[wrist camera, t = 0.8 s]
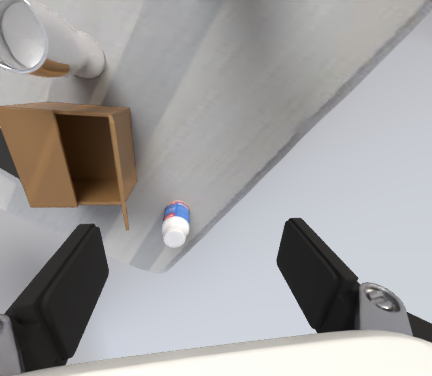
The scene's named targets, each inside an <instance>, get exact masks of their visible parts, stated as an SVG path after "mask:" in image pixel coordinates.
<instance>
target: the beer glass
mask: <svg viewBox="0 0 432 376" xmlns="http://www.w3.org/2000/svg"><path fill="white" fill-rule="evenodd" d="M104 65H105V58H104V54H103V51H102V49H101V47H100V45H99V44H98V43H97V41H96V40H95V39H94V38H92V37H91V36H90V35H88V34H86V33H84V32H80V31H76V30H75V29H74V28H73V27H72V26H71V25H70V24H69V23H68V22H67V21H65V20H64V19H63V18H62V17H61V16H60V15H58V14H57V13H56V12H54V11H53V10H51V9H50V8H48V7H47V6H45V5H44V4H42V3H40V2H38V1H37V0H0V68H1V69H4V70H6V71H9V72H13V73H19V74H25V75H29V76H34V77H41V78H64V77H69V76H72V75H77V76H79V77H82V78H87V79H90V78H95V77H97V76H98V75H100V74H101V72H102V71H103V69H104Z"/></svg>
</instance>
